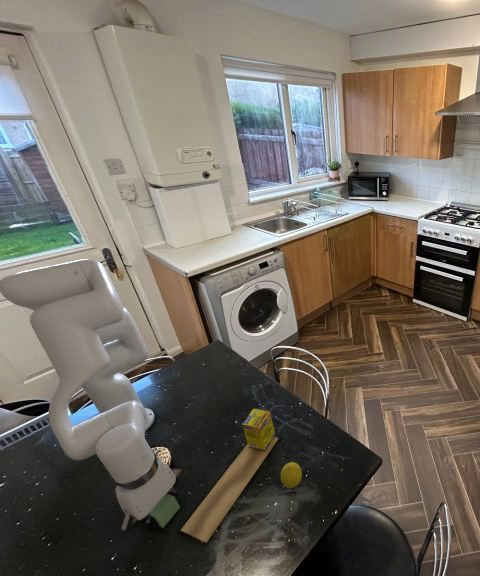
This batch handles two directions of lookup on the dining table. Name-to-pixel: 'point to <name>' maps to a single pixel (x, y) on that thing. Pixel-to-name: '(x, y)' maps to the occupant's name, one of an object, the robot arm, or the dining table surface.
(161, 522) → the green block
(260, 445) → the supplement box
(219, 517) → the wooden strip
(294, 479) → the lemon
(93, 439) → the robot arm
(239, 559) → the dining table surface
